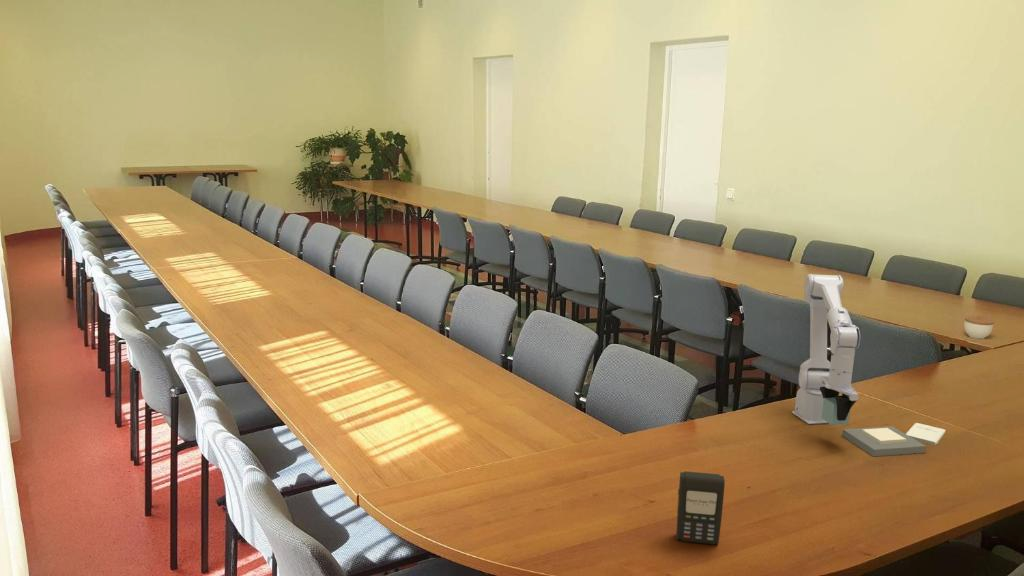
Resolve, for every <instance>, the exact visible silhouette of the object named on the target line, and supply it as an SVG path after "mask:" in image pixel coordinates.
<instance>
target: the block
mask: <svg viewBox="0 0 1024 576" xmlns="http://www.w3.org/2000/svg"><path fill="white" fill-rule="evenodd" d="M850 413H851V410H850V411H849V413H848V415H847V418H846V420H843V421H839V420H838V419H837V402H836V399H835V398H824V400H823V409H822V419H823V420H825V421H826V422H828V423H827V424H829V425H831V426H840V425H849V422H850Z"/></svg>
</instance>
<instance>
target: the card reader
mask: <svg viewBox="0 0 1024 576" xmlns="http://www.w3.org/2000/svg"><path fill="white" fill-rule="evenodd" d="M679 474H680V475H679V484H678V490H677V495H678V499H677V509H676V510H677V512H676V513H677V515H676V540H680V542H687V543H697V544H699V543H700V544H709V545H715V544H719V542H720V537H721V536H720V534H721V528H722V527H721V525H722V520H723V519H722V516H723V506H724V496H725V494H724V493H725V487H726V485H725V483H726V481H725V476H724V475H720V474H719V473H707V472H695V471H680V473H679Z"/></svg>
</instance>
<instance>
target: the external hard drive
mask: <svg viewBox="0 0 1024 576" xmlns="http://www.w3.org/2000/svg"><path fill="white" fill-rule="evenodd" d="M905 434H906V435H908V436H910V437H911V438H913V439H915V440H917V441H918V442H919V441H921V442H920V443H923V442H924V443H923V444H927V443H928V445H931V444H933V445H932V446H935V445H936V444H939V442H940V441H941V440H942V438H943V437H944V435H945V434H946V429H944V428H940V427H935V426H932V425H927V424H923V423H920V422H919V423H918V422H915V423H914V424H913V425H912V426H911V427H910V428H909V430H907V432H906V433H905ZM936 446H937V445H936Z"/></svg>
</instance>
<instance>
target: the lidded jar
mask: <svg viewBox="0 0 1024 576" xmlns="http://www.w3.org/2000/svg"><path fill="white" fill-rule="evenodd" d="M994 323H995V321H994V320H993V319H991V318H988V317H985V316H984V317H983V316H982V315H981V314H979V315H978V316H977V315H976V316H975V315H974V316H973V315H969V316H965V317H964V325H963V326H964V331H965V333H966V334H967V336H969V337H970V338H972V339H979V340H980V339H986V337H988V336H990V334H991V333H992V331H993V327H994Z"/></svg>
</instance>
